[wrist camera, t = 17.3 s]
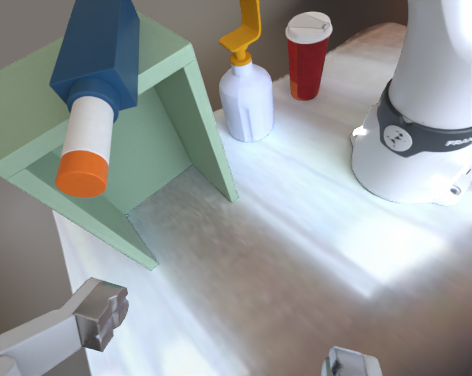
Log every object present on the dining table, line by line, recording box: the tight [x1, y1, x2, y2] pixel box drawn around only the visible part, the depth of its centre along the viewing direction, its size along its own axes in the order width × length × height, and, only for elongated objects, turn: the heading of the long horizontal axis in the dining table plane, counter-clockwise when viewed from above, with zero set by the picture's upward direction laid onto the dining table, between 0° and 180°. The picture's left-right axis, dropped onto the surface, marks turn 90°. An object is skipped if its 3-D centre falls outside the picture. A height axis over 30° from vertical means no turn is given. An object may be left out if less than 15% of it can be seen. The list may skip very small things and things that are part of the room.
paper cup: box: [286, 12, 332, 101], centre depth 51 cm, size 8×8×14 cm
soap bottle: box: [219, 0, 274, 142], centre depth 44 cm, size 9×9×25 cm
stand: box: [0, 11, 239, 271], centre depth 36 cm, size 13×18×27 cm
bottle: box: [49, 0, 140, 198], centre depth 20 cm, size 20×4×3 cm, turn 11°
